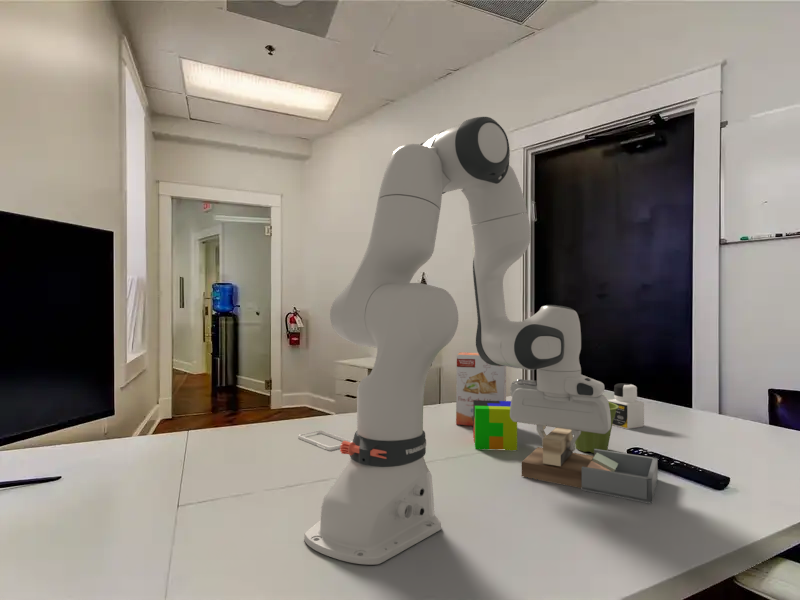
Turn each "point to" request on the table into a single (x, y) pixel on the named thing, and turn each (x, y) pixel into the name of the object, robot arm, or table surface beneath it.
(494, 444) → the puzzle toy
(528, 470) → the brown wooden block
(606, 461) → the tile sage
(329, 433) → the phone case
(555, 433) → the tall wooden pillar
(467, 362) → the cracker box
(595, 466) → the tile terracotta
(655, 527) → the table surface
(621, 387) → the medicine bottle
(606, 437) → the plant pot
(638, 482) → the tray
